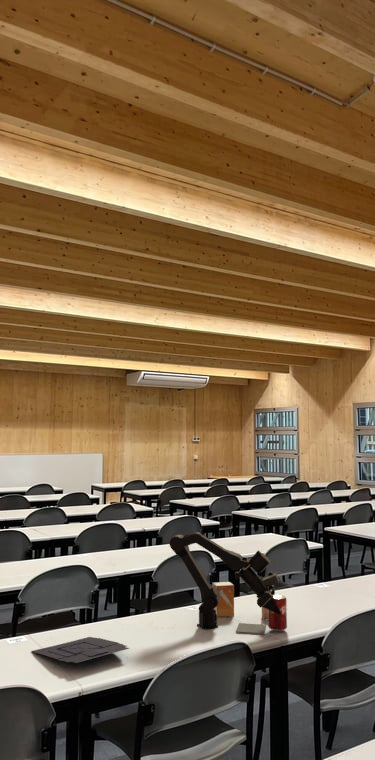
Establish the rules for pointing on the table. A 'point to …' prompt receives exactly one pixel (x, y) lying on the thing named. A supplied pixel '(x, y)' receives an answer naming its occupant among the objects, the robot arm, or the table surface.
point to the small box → (225, 599)
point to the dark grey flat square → (82, 649)
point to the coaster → (251, 628)
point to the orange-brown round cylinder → (264, 613)
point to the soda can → (278, 620)
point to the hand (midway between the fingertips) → (280, 610)
